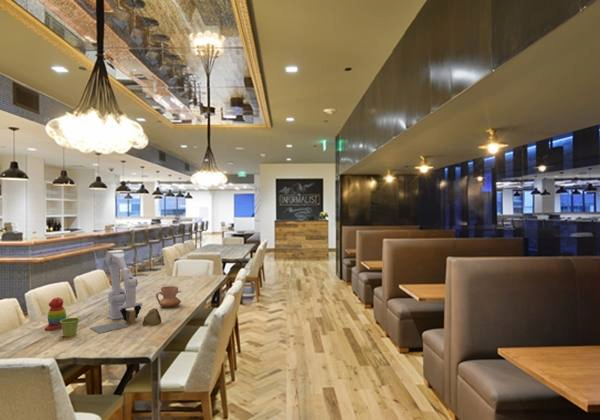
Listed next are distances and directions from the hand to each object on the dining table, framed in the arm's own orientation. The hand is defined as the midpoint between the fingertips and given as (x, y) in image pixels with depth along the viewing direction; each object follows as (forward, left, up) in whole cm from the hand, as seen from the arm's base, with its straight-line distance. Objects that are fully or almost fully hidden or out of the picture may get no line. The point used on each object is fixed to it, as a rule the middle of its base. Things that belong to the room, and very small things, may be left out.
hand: (130, 319), depth 234 cm
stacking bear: (-23, -34, -2) cm, 41 cm away
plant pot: (-1, -34, -2) cm, 34 cm away
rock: (+13, +7, -2) cm, 15 cm away
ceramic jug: (-16, +36, -2) cm, 39 cm away
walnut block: (0, 0, -2) cm, 2 cm away
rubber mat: (+2, -14, -2) cm, 14 cm away
